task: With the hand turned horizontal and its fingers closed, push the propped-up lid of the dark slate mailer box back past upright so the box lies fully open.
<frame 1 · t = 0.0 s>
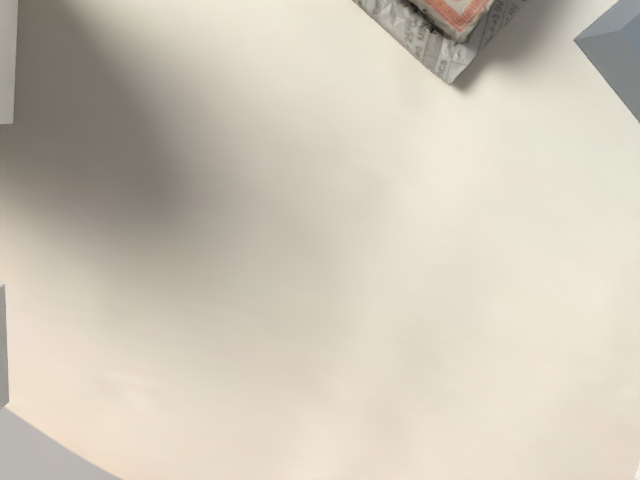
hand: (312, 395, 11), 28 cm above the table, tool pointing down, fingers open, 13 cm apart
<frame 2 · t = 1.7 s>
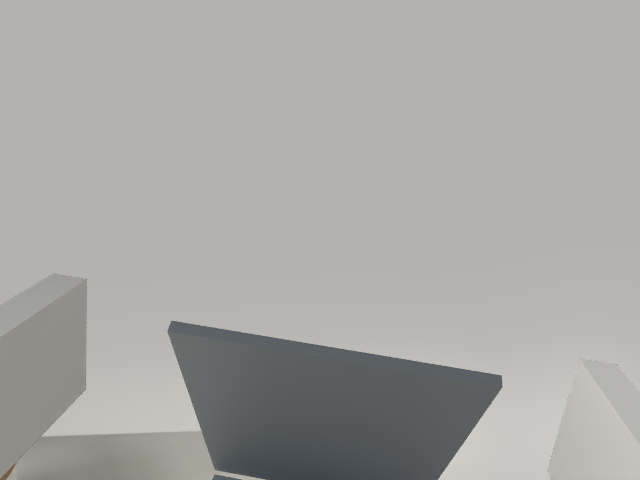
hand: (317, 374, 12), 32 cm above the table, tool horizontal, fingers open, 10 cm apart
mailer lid: (322, 433, 36), point 17 cm above the table, hinge at 55.0°
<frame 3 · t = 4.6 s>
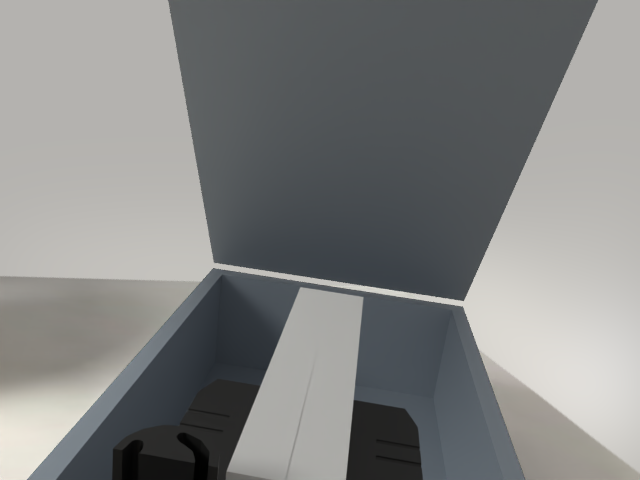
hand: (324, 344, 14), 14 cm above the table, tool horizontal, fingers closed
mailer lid: (353, 147, 28), point 17 cm above the table, hinge at 55.0°
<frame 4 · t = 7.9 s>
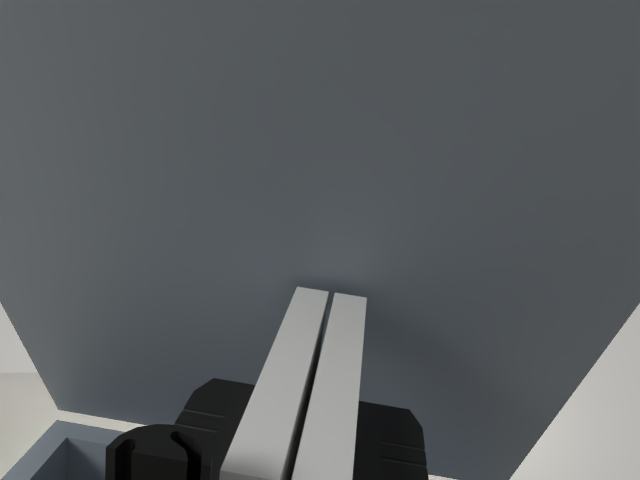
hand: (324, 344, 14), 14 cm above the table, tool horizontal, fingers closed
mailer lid: (281, 211, 13), point 17 cm above the table, hinge at 61.5°, touching gripper
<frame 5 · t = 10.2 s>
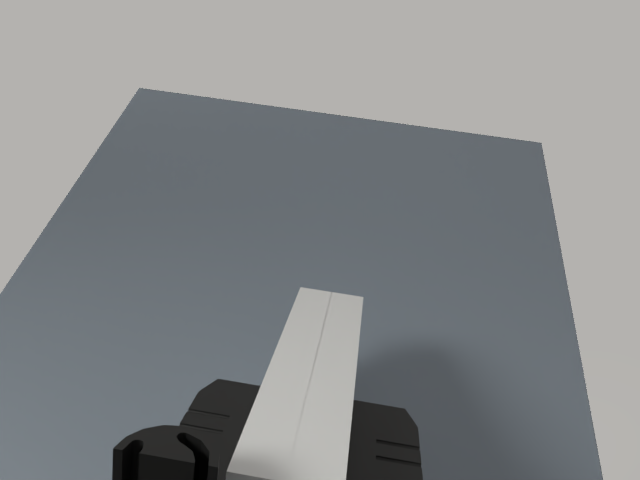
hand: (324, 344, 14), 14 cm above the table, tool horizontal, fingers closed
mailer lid: (280, 361, 15), point 13 cm above the table, hinge at 149.1°, touching gripper
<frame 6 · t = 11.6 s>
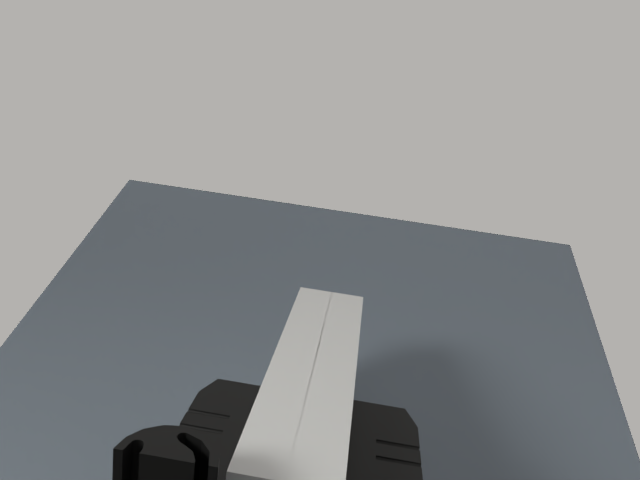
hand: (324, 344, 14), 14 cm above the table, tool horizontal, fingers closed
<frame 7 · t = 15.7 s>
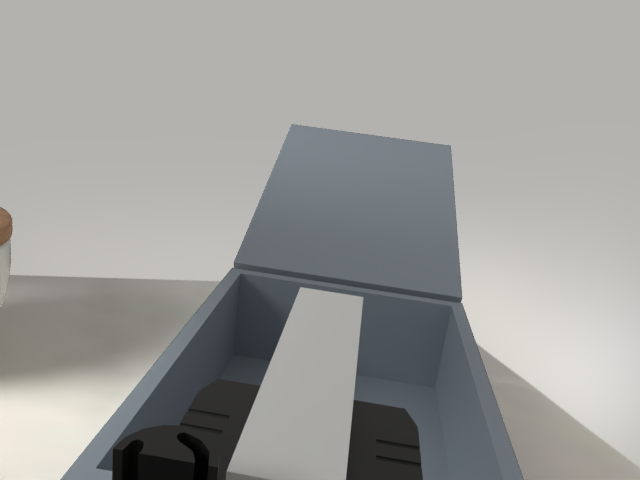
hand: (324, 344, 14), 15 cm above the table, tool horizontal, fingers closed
mailer box: (314, 476, 31), on the table
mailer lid: (360, 197, 48), point 11 cm above the table, hinge at 158.3°
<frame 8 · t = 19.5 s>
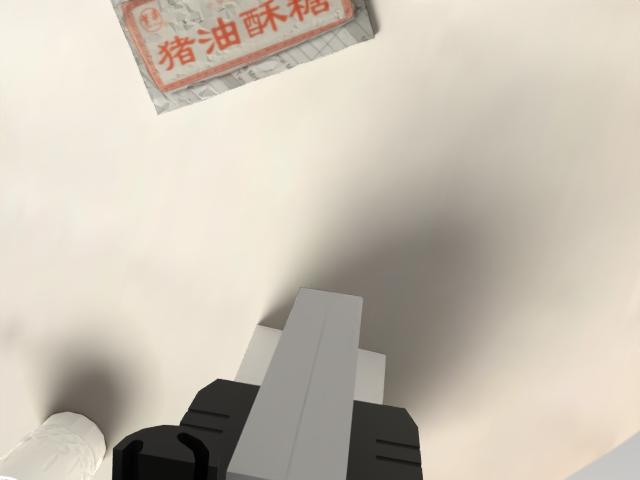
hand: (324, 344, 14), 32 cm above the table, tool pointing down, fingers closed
packaged product: (243, 14, 43), on the table
white cup: (74, 439, 55), on the table
milk: (308, 397, 51), on the table
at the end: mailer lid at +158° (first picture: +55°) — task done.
